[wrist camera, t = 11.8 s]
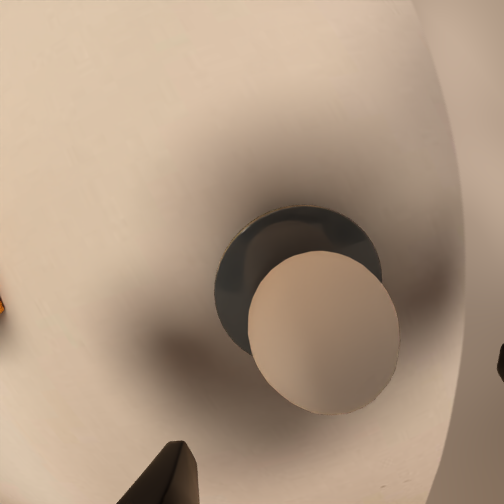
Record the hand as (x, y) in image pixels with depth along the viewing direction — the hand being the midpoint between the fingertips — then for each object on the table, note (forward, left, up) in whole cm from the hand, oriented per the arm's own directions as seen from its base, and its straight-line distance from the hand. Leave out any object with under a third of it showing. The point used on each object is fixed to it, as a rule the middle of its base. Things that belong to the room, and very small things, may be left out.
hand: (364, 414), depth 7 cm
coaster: (0, 0, -9) cm, 9 cm away
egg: (0, 0, -8) cm, 8 cm away
